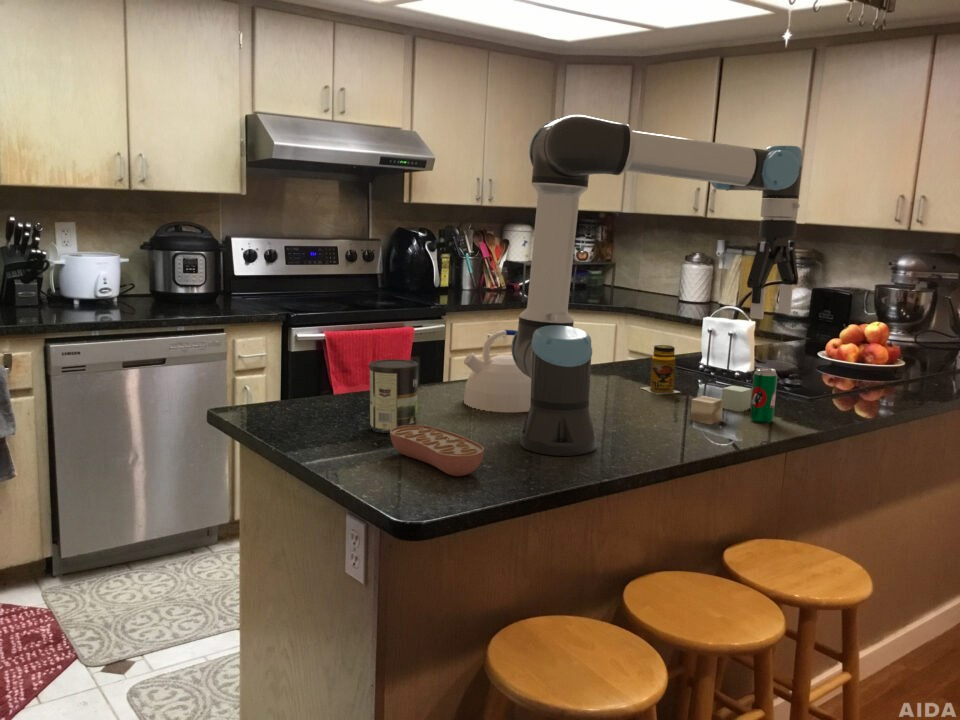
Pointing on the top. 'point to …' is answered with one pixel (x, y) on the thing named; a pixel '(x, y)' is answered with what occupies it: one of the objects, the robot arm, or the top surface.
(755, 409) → the soda can
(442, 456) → the anatomical model
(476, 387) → the kettle
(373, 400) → the coffee can
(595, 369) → the top surface
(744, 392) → the sage block
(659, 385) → the condiment
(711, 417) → the maple block
